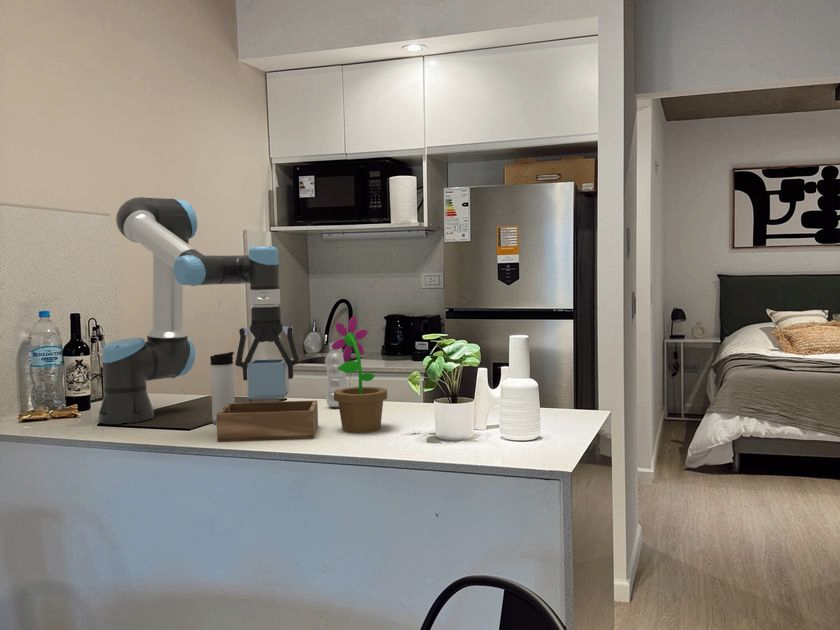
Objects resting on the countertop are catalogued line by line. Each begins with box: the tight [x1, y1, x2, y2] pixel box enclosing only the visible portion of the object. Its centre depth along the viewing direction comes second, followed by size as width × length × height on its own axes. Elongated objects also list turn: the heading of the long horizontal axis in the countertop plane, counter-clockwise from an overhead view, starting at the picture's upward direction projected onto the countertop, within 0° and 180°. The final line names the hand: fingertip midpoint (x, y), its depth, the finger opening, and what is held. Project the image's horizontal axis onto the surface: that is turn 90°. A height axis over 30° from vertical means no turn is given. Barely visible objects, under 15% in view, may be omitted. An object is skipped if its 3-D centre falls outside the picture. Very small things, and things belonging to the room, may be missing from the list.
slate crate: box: [247, 358, 289, 400], centre depth 201 cm, size 9×9×9 cm
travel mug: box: [209, 351, 236, 425], centre depth 218 cm, size 6×7×20 cm
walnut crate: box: [216, 399, 319, 443], centre depth 202 cm, size 16×24×7 cm, turn 93°
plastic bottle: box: [324, 342, 347, 409], centre depth 237 cm, size 6×7×20 cm
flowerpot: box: [332, 315, 388, 434], centre depth 205 cm, size 14×14×30 cm
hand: (268, 392), depth 201 cm, fingers closed on slate crate, 9 cm apart
